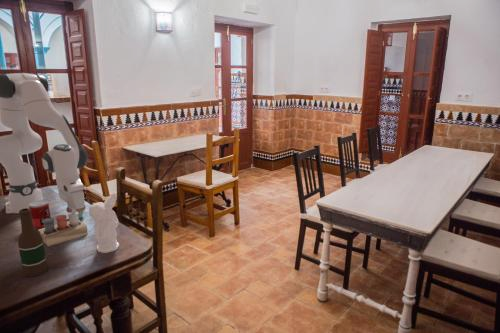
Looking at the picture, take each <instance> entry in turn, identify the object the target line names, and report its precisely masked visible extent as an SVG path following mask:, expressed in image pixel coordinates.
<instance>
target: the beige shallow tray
mask: <svg viewBox="0 0 500 333" xmlns="http://www.w3.org/2000/svg"><path fill="white" fill-rule="evenodd" d="M66 222H67V229H64V230H61V231H59V230H58V226H57V223H56V224H54V228H55V232H54V233H51V234H46V233H45V228H38V230H37V231H38V232H39V233H40V234H41V235H42V239H43V244H44V245H46V246H47V248H49V247H52V246H55V245H59V244H61V243H64V242H68V241H70V240H74V239H77V238H80V237H83V236H87V235H88V234H89V232H88V227H87V225H86V224H85V223H84V222H82V221H81V220H80V219H79V225H77V226H74V227H71V226H70V221H69V220H66Z"/></svg>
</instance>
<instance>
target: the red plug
mask: <svg viewBox="0 0 500 333" xmlns="http://www.w3.org/2000/svg"><path fill="white" fill-rule="evenodd" d="M54 220H56V224H57V226H58V230H59V231H61V230H64V229H67V215H66V214H59V215H56V216H55V219H54Z"/></svg>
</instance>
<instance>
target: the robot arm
mask: <svg viewBox="0 0 500 333" xmlns="http://www.w3.org/2000/svg"><path fill="white" fill-rule="evenodd" d="M49 87H50V86H49V82H48V79H47V78H46V77H45V76H44V75H42V74H40V73H28V72H18V73H17V72H14V73H0V122H1V124H2V125H3V126H5V127H6V128H8V129H11V131H12V132H11V134H6V135H1V136H0V164H1V165H2V166H3V167H4V169H5V171H6V175H7V178H8V183H9V184H8V189H9V190H8V191H9V193H8V196H7V197H4V199H5V213H6V214H19V210H21V209H25V208H28V209H29V204H30V203H32V202H34V201H39V200H44V197H43V193H42V190H41V189H40V188H38V184H37V180H36V179H35V173H34V168H33V166H32V165H31V164H30V163H28V162H25V161H22V160H21V156H24V155H29V154H33V153H35V152H36V151H39V150H41V148H42V147H43V139H42V136H41V135H40V134H39V133H38V132H35V131H34V130H33V129H32V128H31V125H30V122H32V123H33V124H35V125H38V126H41V127H47V128H52V129H55V130H57V131H58V132H59V133H60V134H61V136H62V137H63V139H64V140H65V144H64V143H63V144H61V143H60V144H56V145H54V146H53V147H52V149H51V150H48V151H45V152H44V153H43V155H42V157H41V165H42V166H41V167H42V169H43V170H44V171H45V172H47V173H50V174H55V181H56V182H55V183H56V188H57V191H58V196H59V199H60V200H61V201H64V203H66V204H67V207H69V210H70V212H71V213H72V214H75V213H76V209H80V208H83V207H84V205H85V206H86V204H85V194H84V191H83V190H85V187H84V184H83V182H82V181H81V178H80V174H79V171H78V169H83V168H84V167H85V166H86V165H87V163H88V162H89V156H88V152H87V150H86V149H85V148H84V146H83V145H82V144H81V142H80V141H79V139H78V137H77V135H76V133H75V132H74V129H73V128H72V126H71V124H70V122H69V121H68V119H67V118H66V116H65V115H64V114H63V113H61V112H59V111H57V109H56V108H55V107H54V106H53V103H52V100H51V98H50V96H49V93H48V92H49ZM29 121H30V122H29Z"/></svg>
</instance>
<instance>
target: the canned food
mask: <svg viewBox="0 0 500 333" xmlns="http://www.w3.org/2000/svg"><path fill="white" fill-rule="evenodd" d="M29 209H30V210H31V217H32V221H33V224H34V227H35V229H42V228H44V224H43V222H42V221H43V220H45V219H48V218H52V216H51V215H52V214H51V210H50V204H49V201H48V200H45V199H43V200H39V201H34V202H32V203H30V204H29Z"/></svg>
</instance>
